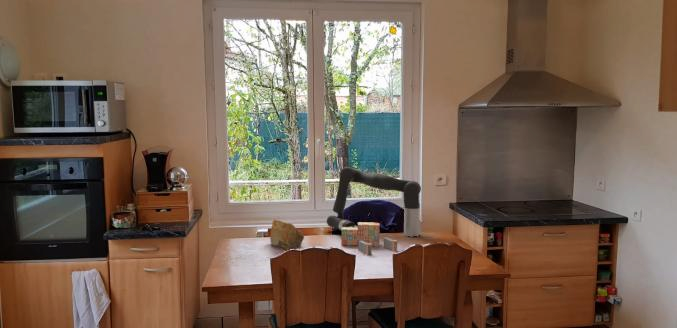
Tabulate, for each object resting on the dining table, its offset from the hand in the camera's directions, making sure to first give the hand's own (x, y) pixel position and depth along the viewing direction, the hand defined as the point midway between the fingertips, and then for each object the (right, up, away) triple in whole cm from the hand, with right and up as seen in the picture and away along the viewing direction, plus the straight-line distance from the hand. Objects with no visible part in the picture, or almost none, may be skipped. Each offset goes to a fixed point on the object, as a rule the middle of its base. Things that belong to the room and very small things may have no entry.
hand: (361, 232), depth 260 cm
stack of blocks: (-1, -7, -3) cm, 7 cm away
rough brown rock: (-41, -7, -8) cm, 42 cm away
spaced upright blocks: (+8, -7, -15) cm, 19 cm away
